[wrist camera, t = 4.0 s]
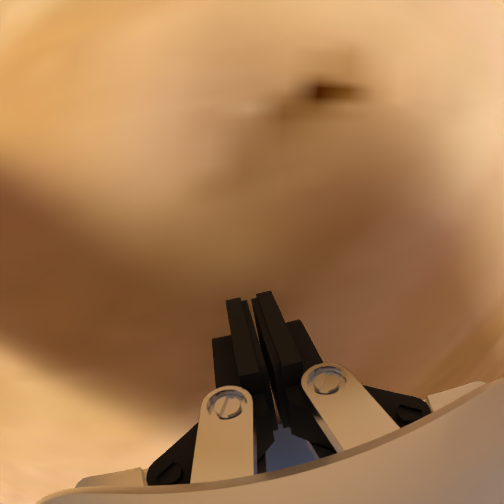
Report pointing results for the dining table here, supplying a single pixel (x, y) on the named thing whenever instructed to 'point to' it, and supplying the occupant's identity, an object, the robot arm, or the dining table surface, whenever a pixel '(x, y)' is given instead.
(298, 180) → the dining table surface
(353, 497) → the robot arm
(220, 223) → the dining table surface
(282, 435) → the ball
